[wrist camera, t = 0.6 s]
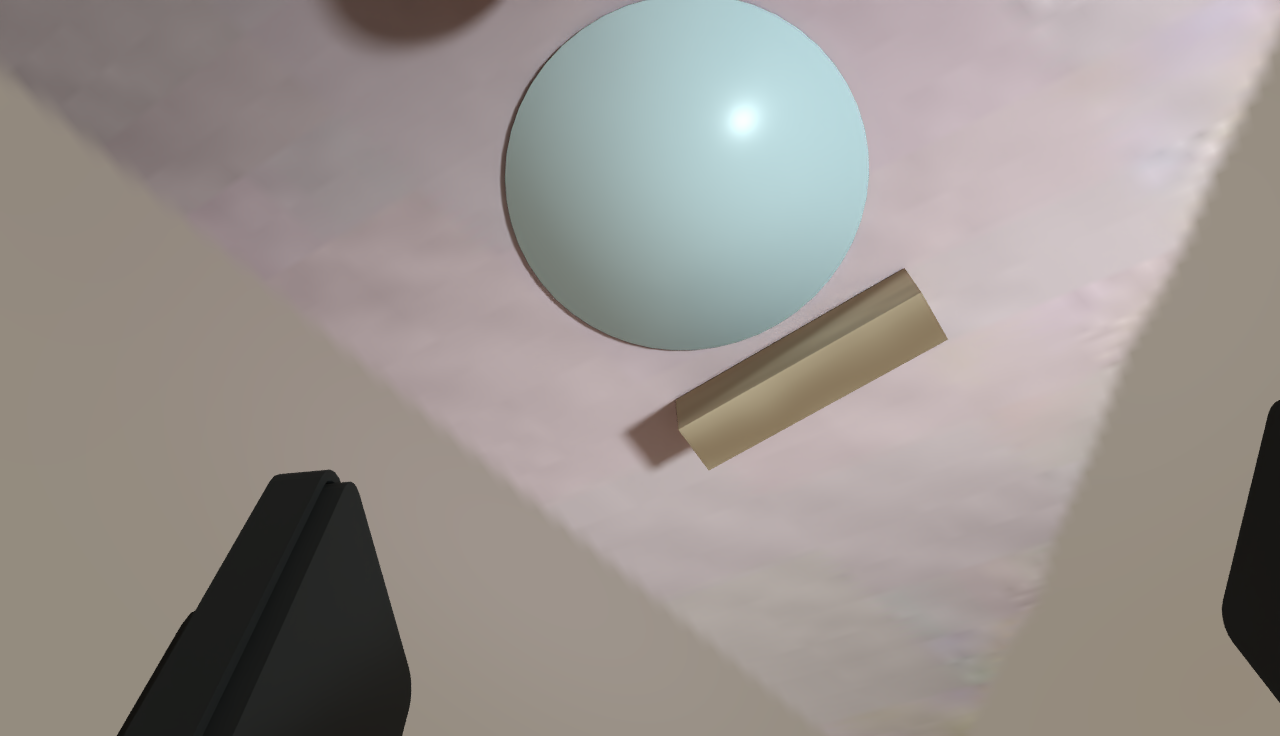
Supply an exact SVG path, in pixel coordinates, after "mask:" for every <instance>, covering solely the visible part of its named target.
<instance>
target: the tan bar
mask: <svg viewBox="0 0 1280 736" xmlns="http://www.w3.org/2000/svg"><path fill="white" fill-rule="evenodd" d="M946 340H948V339H947V337H946V335H945V333H944V332H943V330H942V328H941V326H940V325H939V323H938V321H937V319H936V317H935V316H934V314H933V312H932V310H931V309H930V307H929V305H928V303H927V302H926V300H925V298H924V296H923V295H922V293H921V291H920V290H919V288H918V287H917V286H916V284H915V283H914V281H913V280H912V278H911V277H910V275H909V274H908V273H907V271H906V270H905V268H904V269H902V270H900V271H899V272H897V273H895V274H893V275H892V276H890V277H888V278H887V279H885V280H883V281H881V282H880V283H878V284H876V285H874V286H873V287H871V288H869V289H867V290H866V291H864V292H862V293H860V294H859V295H857V296H855V297H853V298H852V299H850V300H848V301H847V302H845V303H843V304H841V305H840V306H838V307H836V308H834V309H833V310H831V311H829V312H827V313H826V314H824V315H822V316H820V317H819V318H817V319H815V320H814V321H812V322H810V323H808V324H807V325H805V326H803V327H801V328H800V329H798V330H796V331H794V332H793V333H791V334H789V335H787V336H786V337H784V338H782V339H780V340H779V341H777V342H775V343H774V344H772V345H770V346H768V347H767V348H765V349H763V350H761V351H760V352H758V353H756V354H754V355H753V356H751V357H749V358H747V359H746V360H744V361H742V362H741V363H739V364H737V365H735V366H734V367H732V368H730V369H728V370H727V371H725V372H723V373H721V374H720V375H718V376H716V377H714V378H713V379H711V380H709V381H707V382H706V383H704V384H702V385H701V386H699V387H697V388H695V389H694V390H692V391H690V392H688V393H687V394H685V395H683V396H681V397H680V398H678V399H676V411H677V422H678V430H679V431H680V433H681V434H682V435H683V437H684V438H685V439H686V441H687V442H688V443H689V445H690V446H691V447H692V449H693V450H694V451H695V453H696V454H697V455H698V457H699V458H700V459H701V461H702V462H703V463H704V465H705V466H706V467H707V469H708V470H711V469H712V468H714V467H716V466H718V465H720V464H722V463H723V462H725V461H727V460H729V459H731V458H732V457H734V456H736V455H738V454H740V453H742V452H743V451H745V450H747V449H749V448H751V447H753V446H754V445H756V444H758V443H760V442H762V441H763V440H765V439H767V438H769V437H771V436H773V435H774V434H776V433H778V432H780V431H782V430H784V429H785V428H787V427H789V426H791V425H793V424H794V423H796V422H798V421H800V420H802V419H804V418H805V417H807V416H809V415H811V414H813V413H815V412H816V411H818V410H820V409H822V408H824V407H825V406H827V405H829V404H831V403H833V402H835V401H836V400H838V399H840V398H842V397H844V396H846V395H847V394H849V393H851V392H853V391H855V390H856V389H858V388H860V387H862V386H864V385H866V384H867V383H869V382H871V381H873V380H875V379H877V378H878V377H880V376H882V375H884V374H886V373H887V372H889V371H891V370H893V369H895V368H897V367H898V366H900V365H902V364H904V363H906V362H908V361H909V360H911V359H913V358H915V357H917V356H918V355H920V354H922V353H924V352H926V351H928V350H929V349H931V348H933V347H935V346H937V345H939V344H940V343H942V342H944V341H946Z"/></svg>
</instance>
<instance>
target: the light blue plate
mask: <svg viewBox="0 0 1280 736" xmlns="http://www.w3.org/2000/svg"><path fill="white" fill-rule="evenodd" d="M868 178H869V163H868V147H867V141H866V135H865V129H864V126H863V122H862V119H861V116H860V113H859V109H858V106H857V104H856V102H855V100H854V98H853V95H852V93H851V91H850V89H849V87H848V85H847V83H846V82H845V80H844V78H843V77H842V75H841V74H840V72H839V71H838V69H837V68H836V66H835V65H834V63H833V62H832V61H831V60H830V59H829V58H828V57H827V55H826V54H825V53H824V52H823V51H822V50H821V49H820V48H819V46H818V45H817V44H816V43H814V42H813V41H812V40H811V39H810V38H808V37H807V36H806V35H805V34H804V33H803V32H801V31H800V30H799V29H798V28H796V27H795V26H793V25H792V24H790V23H788V22H787V21H785V20H784V19H782V18H780V17H779V16H777V15H775V14H773V13H771V12H769V11H766V10H764V9H762V8H760V7H757V6H755V5H753V4H749V3H746V2H742V1H738V0H644V1H640V2H637V3H633V4H630V5H627V6H624V7H622V8H620V9H618V10H616V11H613V12H611V13H609V14H607V15H604V16H602V17H601V18H599V19H598V20H596V21H594V22H593V23H591V24H590V25H588V26H586V27H585V28H583V29H582V30H580V31H579V32H578V33H577V34H576V35H574V36H573V37H572V38H571V39H570V40H568V41H567V42H566V43H565V44H564V45H562V46H561V47H560V49H559V50H558V51H557V52H556V53H555V54H554V55H553V56H552V57H551V58H550V59H549V61H548V62H547V63H546V64H545V65H544V67H543V68H542V69H541V71H540V72H539V74H538V75H537V77H536V78H535V80H534V81H533V82H532V84H531V86H530V87H529V89H528V91H527V93H526V95H525V97H524V99H523V101H522V103H521V105H520V107H519V110H518V113H517V116H516V119H515V121H514V124H513V127H512V130H511V135H510V139H509V144H508V149H507V155H506V170H505V185H506V199H507V205H508V210H509V215H510V219H511V224H512V227H513V230H514V232H515V235H516V238H517V241H518V244H519V246H520V248H521V250H522V252H523V254H524V256H525V258H526V260H527V262H528V264H529V265H530V267H531V268H532V270H533V271H534V273H535V274H536V276H537V277H538V279H539V280H540V282H541V283H542V284H543V285H544V286H545V287H546V289H547V290H548V291H549V292H550V293H551V294H552V295H553V297H554V298H555V299H556V300H557V301H559V302H560V303H561V304H562V305H563V306H564V307H565V308H567V309H568V310H569V311H570V312H571V313H572V314H574V315H575V316H577V317H578V318H580V319H581V320H583V321H584V322H586V323H587V324H589V325H590V326H592V327H594V328H596V329H598V330H600V331H602V332H604V333H606V334H608V335H610V336H612V337H615V338H618V339H621V340H623V341H626V342H629V343H633V344H637V345H641V346H646V347H650V348H657V349H667V350H699V349H707V348H715V347H720V346H724V345H728V344H732V343H736V342H739V341H742V340H745V339H747V338H750V337H753V336H755V335H758V334H760V333H762V332H764V331H766V330H768V329H770V328H772V327H774V326H776V325H777V324H779V323H781V322H782V321H784V320H785V319H787V318H788V317H789V316H791V315H792V314H794V313H795V312H797V311H798V310H799V309H800V308H801V307H803V306H804V305H805V304H806V303H807V302H808V301H810V300H811V299H812V298H813V297H814V296H815V295H816V294H817V293H818V292H819V291H820V289H821V288H822V287H823V286H824V285H825V284H826V283H827V282H828V281H829V279H830V278H831V277H832V275H833V274H834V272H835V271H836V270H837V268H838V267H839V265H840V264H841V262H842V261H843V259H844V257H845V255H846V253H847V251H848V250H849V248H850V246H851V244H852V242H853V240H854V237H855V234H856V232H857V229H858V227H859V224H860V222H861V218H862V214H863V210H864V206H865V202H866V196H867V187H868Z"/></svg>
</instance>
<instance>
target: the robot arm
mask: <svg viewBox="0 0 1280 736" xmlns="http://www.w3.org/2000/svg"><path fill="white" fill-rule="evenodd" d="M1222 616H1223V621H1224V625H1225V628H1226V631H1227V633H1228V635H1229V637H1230V638H1231V640H1232V642H1233V643H1234V644H1235V646H1236V647H1237V648H1238V649H1239V651H1240V652H1241V653H1242V655H1243V656H1244V657H1245V659H1246V660H1247V661H1248V662H1249V664H1250V665H1251V666H1252V668H1253V669H1254V670H1255V671H1256V673H1257V674H1258V675H1259V677H1260V678H1261V679H1262V680H1263V682H1264V683H1265V684H1266V686H1267V687H1268V688H1269V689H1270V691H1271V692H1272V693H1273V695H1274V696H1275V697H1276V698H1277V700H1278V701H1279V702H1280V400H1279V401H1277V402H1275V403H1274V404H1273V406H1272V407H1271V409H1270V411H1269V414H1268V417H1267V421H1266V425H1265V430H1264V434H1263V438H1262V442H1261V446H1260V450H1259V455H1258V458H1257V463H1256V467H1255V471H1254V475H1253V479H1252V483H1251V487H1250V491H1249V496H1248V500H1247V504H1246V508H1245V512H1244V516H1243V520H1242V524H1241V528H1240V532H1239V537H1238V541H1237V545H1236V549H1235V553H1234V557H1233V562H1232V565H1231V570H1230V574H1229V578H1228V582H1227V586H1226V590H1225V594H1224V599H1223V604H1222ZM410 699H411V678H410V671H409V667H408V664H407V660H406V656H405V653H404V649H403V646H402V642H401V639H400V635H399V632H398V628H397V624H396V621H395V617H394V614H393V611H392V607H391V603H390V600H389V596H388V593H387V589H386V586H385V582H384V579H383V575H382V572H381V568H380V565H379V561H378V558H377V554H376V551H375V547H374V544H373V540H372V537H371V533H370V530H369V526H368V523H367V519H366V516H365V512H364V509H363V505H362V502H361V498H360V495H359V492H358V490H357V487H356V486H355V484H354V483H352V482H342V483H341V482H340V479H339V477H338V476H337V475H336V473H335V472H333V471H332V470H321V471H311V472H299V473H287V474H279V475H276V476H274V477H273V478H272V479H271V481H270V482H269V484H268V485H267V487H266V489H265V491H264V492H263V494H262V496H261V498H260V499H259V501H258V503H257V505H256V506H255V508H254V510H253V511H252V513H251V515H250V517H249V518H248V520H247V522H246V524H245V525H244V527H243V529H242V530H241V532H240V534H239V536H238V538H237V539H236V541H235V543H234V544H233V546H232V548H231V550H230V551H229V553H228V555H227V557H226V558H225V560H224V562H223V563H222V565H221V567H220V569H219V571H218V572H217V574H216V576H215V577H214V579H213V581H212V583H211V585H210V586H209V588H208V590H207V591H206V593H205V595H204V597H203V598H202V600H201V602H200V603H199V605H198V607H197V609H196V610H195V611H194V612H192V613H191V614H190V615H189V616H188V617H187V619H186V620H185V621H184V622H183V624H182V625H181V627H180V629H179V630H178V632H177V633H176V635H175V637H174V639H173V640H172V642H171V644H170V645H169V647H168V649H167V651H166V652H165V654H164V656H163V657H162V659H161V661H160V663H159V664H158V666H157V668H156V669H155V671H154V673H153V675H152V676H151V678H150V680H149V681H148V683H147V685H146V687H145V688H144V690H143V692H142V694H141V695H140V697H139V699H138V700H137V702H136V704H135V705H134V707H133V709H132V711H131V712H130V714H129V716H128V717H127V719H126V721H125V723H124V724H123V726H122V728H121V730H120V731H119V733H118V735H117V736H402V734H403V730H404V726H405V722H406V718H407V714H408V711H409V706H410V701H411V700H410Z"/></svg>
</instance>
